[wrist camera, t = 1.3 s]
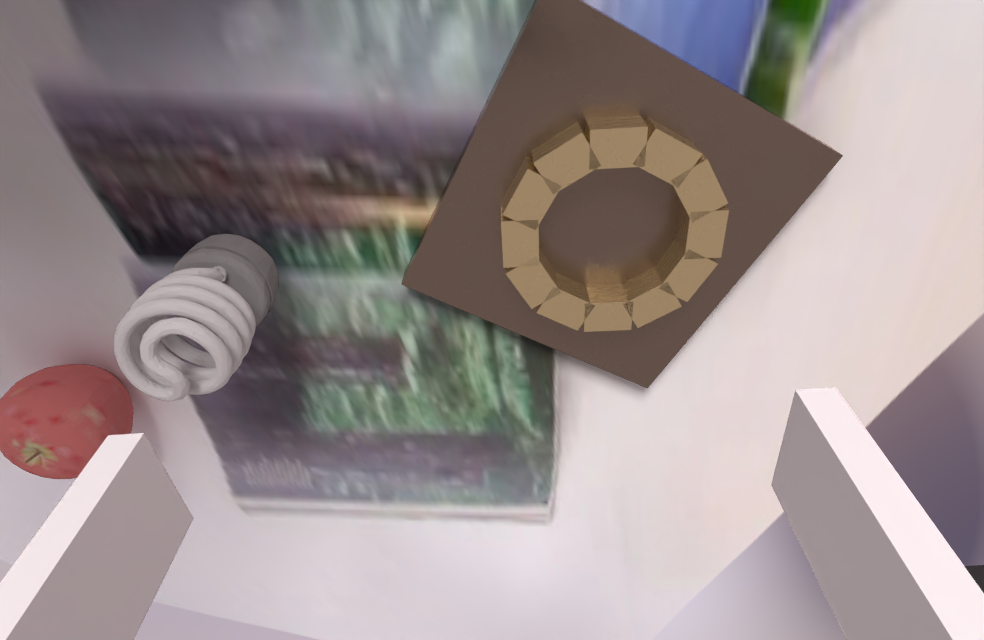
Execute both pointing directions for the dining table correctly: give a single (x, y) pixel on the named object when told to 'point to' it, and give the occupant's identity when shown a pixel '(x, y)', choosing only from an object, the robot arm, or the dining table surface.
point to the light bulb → (197, 318)
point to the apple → (62, 418)
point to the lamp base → (610, 194)
